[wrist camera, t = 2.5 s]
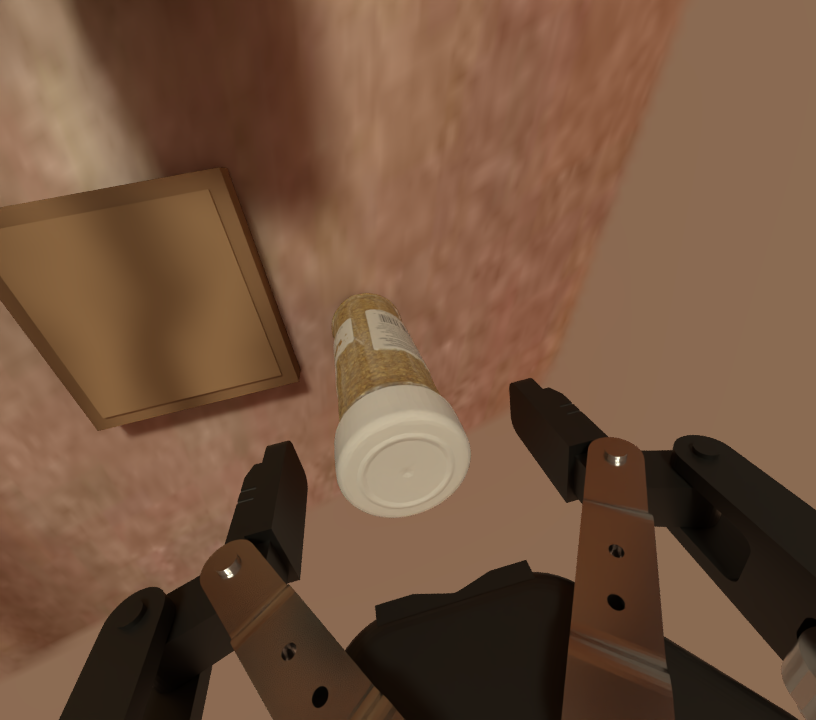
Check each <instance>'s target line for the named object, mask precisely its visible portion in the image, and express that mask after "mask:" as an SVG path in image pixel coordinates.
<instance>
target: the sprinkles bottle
mask: <svg viewBox="0 0 816 720" xmlns="http://www.w3.org/2000/svg"><path fill="white" fill-rule="evenodd" d="M332 335H333V338H334V359H335V374H336V390H337V396H338V407H339V425H338V427H337V430H336V434H335V443H334V445H335V467H336V476H337V482H338V485H339V487H340V490H341V492H342V493H343V495H344V496H345V498H346V499H347V500H348V501H349V502H350V503H351V504H352V505H354V506H355V507H356V508H358V509H360V510H362V511H364V512H366V513H368V514H371V515H374V516H379V517H387V518H400V517H406V516H412V515H416V514H419V513H422V512H425V511H427V510H429V509H431V508H433V507H435V506H437V505H439V504H440V503H442V502H443V501H445V500H446V499H447V498H448V497H450V496H451V495H452V494H453V493H454V492H455V491H456V489H457V488H458V487H459V486H460V485H461V483H462V482H463V480H464V478H465V476H466V474H467V471H468V468H469V465H470V459H471V451H470V444H469V440H468V438H467V436H466V433H465V431H464V429H463V427H462V425H461V423H460V421H459V419H458V417H457V415H456V413H455V412H454V410H453V408H452V407H451V405H450V404H449V403H448V402H447V401H446V400H445V399H444V398H443V397H442V396H440V394H439V392H438V390H437V388H436V386H435V385H434V383H433V380H432V378H431V375H430V372H429V369H428V368H427V366H426V364H425V362H424V360H423V359H422V357H421V355H420V353H419V351H418V349H417V348H416V346H415V344H414V342H413V340H412V338H411V336H410V335H409V333H408V331H407V329H406V327H405V326H404V324H403V323H402V321H401V317H400V314H399V312H398V310H397V309H396V307H395V306H394V305H393V304H392V303H391V302H390V301H389V300H388V299H386V298H384V297H382V296H380V295H377V294H370V293H363V294H358V295H354V296H351V297H350V298H348V299H347V300H345V301H344V302H343V303H342V304H341V305H340V307H339V308H338V309H337V311H336V312H335V314H334V316H333V321H332Z"/></svg>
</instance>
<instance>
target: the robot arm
mask: <svg viewBox="0 0 816 720" xmlns="http://www.w3.org/2000/svg"><path fill="white" fill-rule="evenodd" d="M509 392H510V410H511V420H512V424H513V427H514V429H515V431H516V433H517V434H518V436H519V437H520V439H521V440H522V441H523V443H524V444H525V446H526V447H527V448H528V450H529V451H530V453H531V454H532V456H533V457H534V458H535V460H536V461H537V462H538V464H539V465H540V467H541V468H542V469H543V471H544V472H545V474H546V475H547V476H548V478H549V479H550V481H551V482H552V483H553V485H554V486H555V487H556V489H557V490H558V492H559V493H560V495H561V496H562V497H563V499H564V500H565V501H566V503H568V502H571V501H575V500H578V499H579V500H580V502H581V503H582V514H581V525H580V535H579V545H578V556H577V566H576V576H575V582H573V581H571V580H569V579H566V578H563V577H561V576H558V575H553V574H549V573H541V572H532V571H531V569H530V567H529V565H528V563H527V561H526V560H524V561H521V562H518V563H515V564H511V565H508V566H504V567H501V568H498V569H494V570H491V571H489V572H487V573H486V574H484V575H483V576H481V577H480V578H478V579H477V580H475V581H473V582H472V583H470V584H469V585H467V586H466V587H464V588H463V589H461V590H459V591H458V592H456V593H447V594H412V595H409V596H406V597H403V598H399V599H396V600H392V601H389V602H386V603H382V604H380V605H376V606H375V610H376V620H375V621H373V622H372V623H370V624H369V625H368V626H367V627H365V628H364V629H363V630H362V631H361V632H360V633H359V634H358V635H357V636H356V637H355V638H354V639H353V640H352V642H351V643H350V644H349V646H348V647H347V648H346V650H344V649H343V648H342V647H341V645H340V644H339V643H338V642H337V641H336V639H335V638H334V637H333V636H332V635H331V633H330V632H329V631H328V630H327V629H326V627H325V626H324V625H323V624H322V623H321V622H320V620H319V619H318V618H317V617H316V616H315V614H314V613H313V612H312V611H311V610H310V608H309V607H308V606H307V605H306V604H305V603H304V601H303V600H302V599H301V598H300V596H299V595H298V594H297V593H296V592H295V590H294V589H293V588H292V587H291V586H290V585H287V583H290V582H294V581H297V580H300V574H301V562H302V561H301V560H302V549H303V538H304V527H305V515H306V503H307V491H308V486H307V478H306V474H305V472H304V469H303V467H302V465H301V462H300V460H299V458H298V456H297V453H296V451H295V449H294V447H293V444H292V443H291V441H285V442H281V443H277V444H274V445H270V446H267V447H266V450H265V454H264V458H263V462H262V463H259V464H256V465H254V466H253V467H252V469H251V470H250V471H249V473H248V474H247V475H246V477H245V478H244V482H243V485H242V488H241V493H240V495H239V498H238V504H237V505H236V509H235V512H234V515H233V519H232V522H231V525H230V529H229V532H228V535H227V539H226V542H225V545H223V546H222V547H220V548H219V549H218V550H217V551H215V552H214V553H213V554H212V555H211V556H210V557H209V559H208V560H207V561H206V563H205V565H204V566H203V568H202V571H201V574H200V576H198V577H196V578H195V579H193V580H191V581H190V582H188V583H186V584H184V585H183V586H181V587H179V588H177V589H175V590H174V591H172V592H170V593H168V594H167V595H166V594H165V593H164V592H163V590H161V589H160V588H158V587H149V588H145V589H142V590H140V591H138V592H136V593H134V594H132V595H131V596H129V597H128V598H127V599H125V600H124V601H123V602H122V603H121V604H120V605H119V606H117V608H116V609H115V610H114V611H113V612H112V613H111V614H110V616H109V617H108V618H107V620H106V621H105V623H104V625H103V627H102V629H101V631H100V633H99V635H98V637H97V639H96V642H95V644H94V646H93V648H92V650H91V652H90V654H89V657H88V659H87V661H86V663H85V665H84V667H83V669H82V671H81V674H80V676H79V678H78V680H77V682H76V684H75V687H74V689H73V691H72V693H71V695H70V697H69V699H68V702H67V704H66V706H65V708H64V710H63V712H62V715H61V716H60V719H59V720H201V719H202V714H203V710H204V704H205V700H206V695H207V690H208V685H209V680H210V675H211V670H212V665H213V664H215V663H216V662H218V661H219V660H221V659H222V658H224V657H225V656H227V655H228V654H230V653H231V652H233V651H235V653H236V654H237V656H238V658H239V660H240V662H241V663H242V665H243V667H244V668H245V671H246V672H247V674H248V676H249V678H250V679H251V681H252V683H253V685H254V687H255V688H256V690H257V691H258V694H259V695H260V697H261V699H262V701H263V702H264V704H265V706H266V707H267V710H268V711H269V713H270V715H271V717H272V718H273V720H798V719H797V718H795V717H794V716H793V715H791V714H790V713H788V712H786V711H785V710H783V709H782V708H780V707H778V706H777V705H775V704H774V703H772V702H770V701H769V700H767V699H765V698H764V697H762V696H760V695H759V694H757V693H755V692H754V691H752V690H750V689H749V688H747V687H746V686H744V685H743V684H741V683H739V682H738V681H736V680H734V679H733V678H731V677H730V676H728V675H726V674H724V673H723V672H721V671H719V670H718V669H716V668H715V667H713V666H712V665H710V664H708V663H707V662H705V661H703V660H702V659H700V658H698V657H697V656H695V655H694V654H692V653H690V652H689V651H687V650H685V649H684V648H682V647H681V646H679V645H677V644H676V643H674V642H672V641H671V640H669V639H668V638H666V637H664V635H663V622H662V611H661V599H660V587H659V575H658V563H657V552H656V540H655V528H654V526H657V527H667V528H668V529H669V531H670V532H671V533H672V534H673V535H674V536H675V538H676V539H677V540H678V541H679V542H680V543H681V545H682V546H683V547H684V548H685V549H686V550H687V551H688V553H690V555H691V556H692V557H693V558H694V559H695V561H696V562H697V563H698V564H699V565H700V566H701V567H702V569H703V570H704V571H705V572H706V573H707V574H708V575H709V577H710V578H711V579H712V580H713V581H714V582H715V584H716V585H717V586H718V587H719V588H720V589H721V590H722V592H723V593H724V594H725V595H726V596H727V597H728V598H729V599H730V601H731V602H732V603H733V604H734V605H735V606H736V608H737V609H738V610H739V611H740V612H741V613H742V615H743V616H744V617H745V618H746V619H747V620H748V621H749V623H750V624H751V625H752V626H753V627H754V628H755V629H756V631H757V632H758V633H759V634H760V635H761V636H762V637H763V639H764V640H765V641H766V642H767V643H768V644H769V645H770V647H771V648H772V649H773V650H774V651H775V652H776V653H777V655H778V656H779V657H780V658H781V659H782V660H783V662H782V666H781V672H782V677H783V681H784V683H785V686H786V688H787V690H788V691H789V693H790V695H791V696H792V698H793V699H794V701H795V702H796V704H797V706H798V709H799V711H800V713H801V714H802V715H803V717H804V718H805V719H806V720H816V510H815V509H813V508H812V507H811V506H810V505H808V504H807V503H805V502H804V501H803V500H801V499H800V498H799V497H797V496H796V495H795V494H793V493H792V492H790V491H789V490H788V489H786V488H785V487H784V486H782V485H781V484H780V483H778V482H777V481H775V480H774V479H773V478H771V477H770V476H769V475H767V474H766V473H765V472H763V471H762V470H761V469H759V468H758V467H757V466H755V465H754V464H752V463H751V462H750V461H748V460H747V459H746V458H744V457H743V456H742V455H740V454H739V453H737V452H736V451H735V450H733V449H732V448H731V447H729V446H728V445H726V444H724V443H723V442H721V441H718V440H716V439H713V438H710V437H706V436H700V435H687V436H683V437H680V438H678V439H677V440H676V441H675V443H674V446H673V450H667V451H666V450H664V451H663V450H662V451H641V450H640V449H639V448H638V447H637V446H635V445H634V444H632V443H630V442H628V441H626V440H623V439H620V438H614V437H608V436H607V435H606V434H605V433H603V431H602V430H600V429H599V428H598V427H597V426H596V425H595V424H594V423H593V422H592V421H591V420H590V419H589V418H588V417H587V416H586V415H585V414H583V413H582V412H580V411H579V409H578V408H577V407H576V406H575V405H574V404H572V402H571V401H569V399H568V398H566V397H565V396H564V395H563V394H562V393H560V392H558V391H555V390H553V389H551V388H545V389H542V388H541V387H540V386H539V385H538V384H537V383H536V382H535V381H534V380H533V379H532V378H528V379H525V380H521V381H517V382H513V383H511V384H510V386H509Z"/></svg>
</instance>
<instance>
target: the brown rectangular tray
mask: <svg viewBox="0 0 816 720" xmlns="http://www.w3.org/2000/svg"><path fill="white" fill-rule="evenodd" d="M0 300H1V302H2V303H3V304H4V306H5V307H6V308H7V310H8V311H9V312H10V314H11V315H12V316H13V318H14V319H15V320H16V322H17V323H18V324H19V326H20V327H21V328H22V330H23V331H24V332H25V334H26V335H27V336H28V338H29V339H30V340H31V342H32V343H33V344H34V346H35V347H36V348H37V350H38V351H39V352H40V354H41V355H42V357H43V358H44V359H45V361H46V362H47V363H48V365H49V366H50V367H51V369H52V370H53V371H54V373H55V374H56V375H57V377H58V378H59V379H60V381H61V382H62V383H63V385H64V386H65V387H66V389H67V390H68V391H69V393H70V394H71V395H72V397H73V398H74V399H75V401H76V402H77V403H78V405H79V406H80V408H81V409H82V410H83V412H84V413H85V414H86V416H87V417H88V418H89V420H90V421H91V422H92V424H93V425H94V426H95V428H96V429H97V430H98V431H100V430H104V429H108V428H112V427H116V426H120V425H124V424H128V423H132V422H137V421H141V420H145V419H149V418H153V417H157V416H161V415H165V414H169V413H173V412H177V411H181V410H185V409H189V408H194V407H198V406H202V405H206V404H210V403H214V402H218V401H222V400H226V399H230V398H234V397H238V396H242V395H246V394H251V393H255V392H259V391H263V390H267V389H271V388H275V387H279V386H283V385H287V384H291V383H295V382H299V377H300V368H299V365H298V362H297V360H296V357H295V354H294V351H293V349H292V346H291V343H290V340H289V338H288V335H287V332H286V329H285V326H284V324H283V321H282V318H281V315H280V313H279V310H278V307H277V304H276V302H275V299H274V296H273V293H272V291H271V288H270V285H269V282H268V280H267V277H266V274H265V271H264V269H263V266H262V263H261V260H260V258H259V255H258V252H257V249H256V246H255V244H254V241H253V238H252V235H251V233H250V230H249V227H248V224H247V222H246V219H245V216H244V213H243V211H242V208H241V205H240V202H239V200H238V197H237V194H236V191H235V189H234V186H233V183H232V180H231V178H230V175H229V172H228V169H227V168H221V167H218V168H212V169H207V170H202V171H196V172H191V173H185V174H180V175H174V176H169V177H164V178H158V179H153V180H147V181H142V182H136V183H131V184H126V185H120V186H115V187H109V188H104V189H98V190H93V191H88V192H82V193H77V194H71V195H66V196H60V197H55V198H50V199H44V200H39V201H33V202H28V203H22V204H17V205H12V206H6V207H1V208H0Z"/></svg>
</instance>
